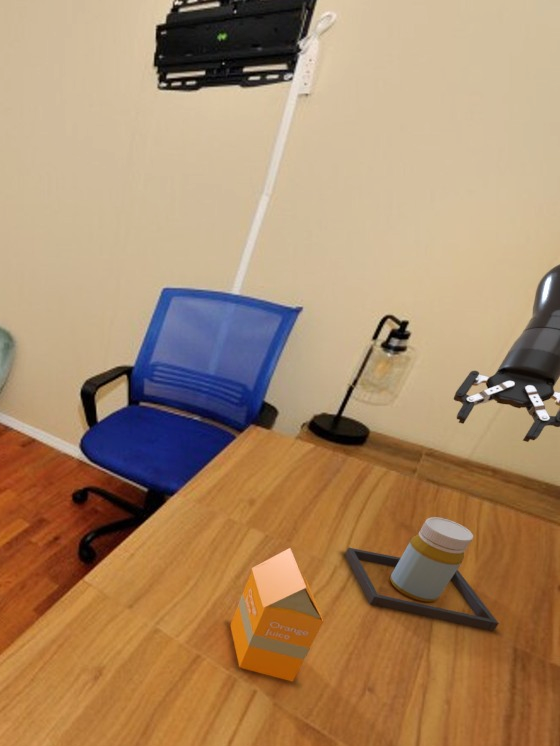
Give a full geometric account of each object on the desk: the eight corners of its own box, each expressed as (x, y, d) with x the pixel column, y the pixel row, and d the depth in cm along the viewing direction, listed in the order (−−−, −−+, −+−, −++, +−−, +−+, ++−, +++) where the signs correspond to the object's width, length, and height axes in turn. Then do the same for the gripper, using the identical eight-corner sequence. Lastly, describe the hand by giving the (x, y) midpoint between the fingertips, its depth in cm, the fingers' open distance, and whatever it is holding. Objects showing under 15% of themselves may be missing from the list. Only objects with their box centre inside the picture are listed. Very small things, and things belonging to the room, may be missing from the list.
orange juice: (278, 639, 88) (318, 553, 78) (292, 684, 80) (338, 595, 71) (228, 627, 90) (261, 541, 81) (237, 670, 83) (274, 581, 73)
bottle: (401, 600, 94) (438, 538, 87) (380, 572, 100) (414, 513, 93) (446, 607, 92) (487, 544, 85) (422, 578, 98) (459, 518, 92)
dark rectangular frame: (450, 578, 99) (456, 568, 98) (491, 633, 88) (499, 623, 87) (343, 556, 105) (348, 547, 104) (368, 606, 94) (374, 596, 92)
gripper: (487, 338, 97) (444, 408, 96) (603, 359, 86) (557, 438, 86) (479, 357, 102) (438, 424, 101) (588, 379, 92) (544, 454, 91)
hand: (493, 430), depth 93 cm, fingers open, 8 cm apart
